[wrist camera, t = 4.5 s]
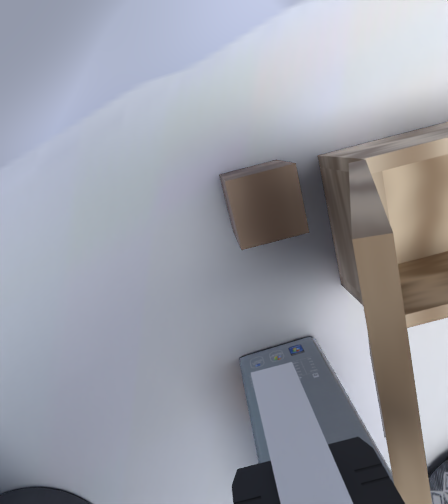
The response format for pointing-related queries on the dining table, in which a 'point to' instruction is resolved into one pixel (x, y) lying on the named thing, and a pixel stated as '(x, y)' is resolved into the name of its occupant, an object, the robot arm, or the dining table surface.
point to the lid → (388, 336)
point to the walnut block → (264, 203)
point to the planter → (439, 484)
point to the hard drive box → (307, 394)
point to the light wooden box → (399, 214)
